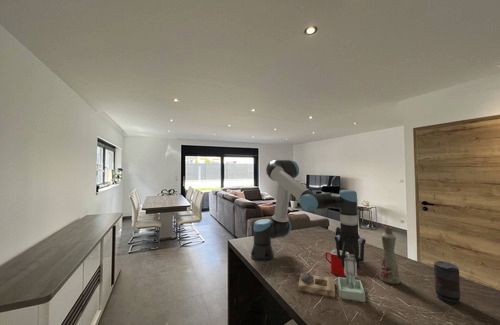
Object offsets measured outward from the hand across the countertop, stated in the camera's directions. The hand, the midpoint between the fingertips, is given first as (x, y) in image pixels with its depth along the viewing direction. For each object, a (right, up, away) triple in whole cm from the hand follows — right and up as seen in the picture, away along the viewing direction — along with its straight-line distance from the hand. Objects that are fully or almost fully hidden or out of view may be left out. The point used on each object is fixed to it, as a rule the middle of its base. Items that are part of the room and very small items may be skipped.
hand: (350, 274), depth 96 cm
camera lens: (+39, -8, -6) cm, 41 cm away
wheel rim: (+15, -10, +36) cm, 40 cm away
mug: (+2, -9, +20) cm, 22 cm away
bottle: (+25, -9, +10) cm, 28 cm away
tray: (0, -8, 0) cm, 8 cm away
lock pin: (0, -6, 0) cm, 5 cm away
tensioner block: (-14, -9, +5) cm, 17 cm away
